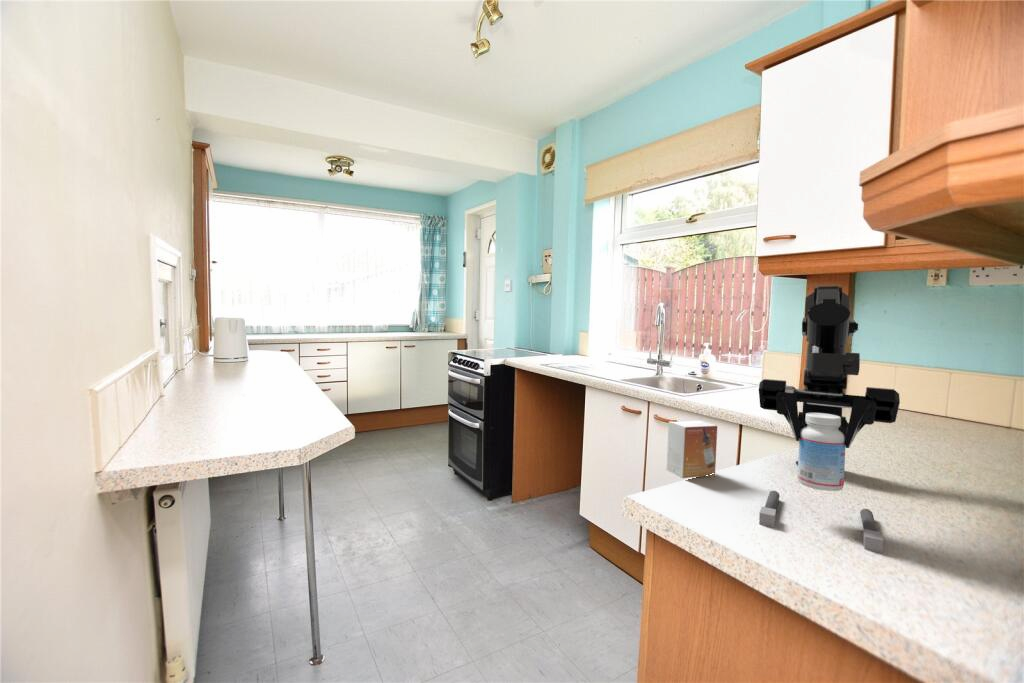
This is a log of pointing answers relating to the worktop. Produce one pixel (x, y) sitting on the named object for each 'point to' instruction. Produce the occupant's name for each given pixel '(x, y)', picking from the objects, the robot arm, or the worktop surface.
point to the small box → (691, 448)
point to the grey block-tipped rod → (769, 510)
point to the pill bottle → (822, 452)
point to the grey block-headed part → (871, 532)
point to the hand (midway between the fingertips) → (821, 442)
